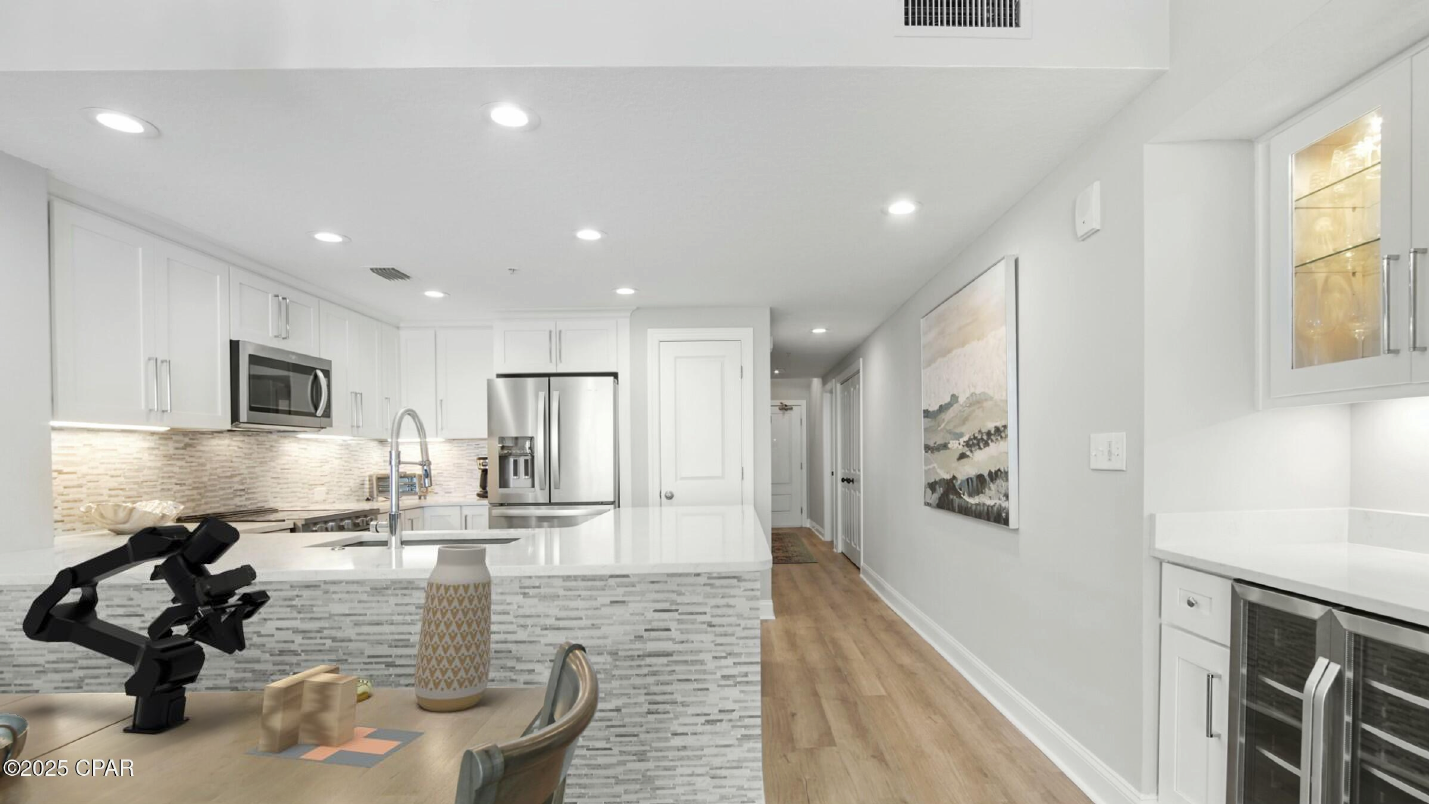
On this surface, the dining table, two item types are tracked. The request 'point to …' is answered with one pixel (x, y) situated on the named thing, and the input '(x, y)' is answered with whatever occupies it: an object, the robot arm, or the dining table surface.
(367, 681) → the decorated donut
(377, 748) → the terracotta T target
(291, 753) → the slate mat
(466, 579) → the vase
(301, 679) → the maple T block
